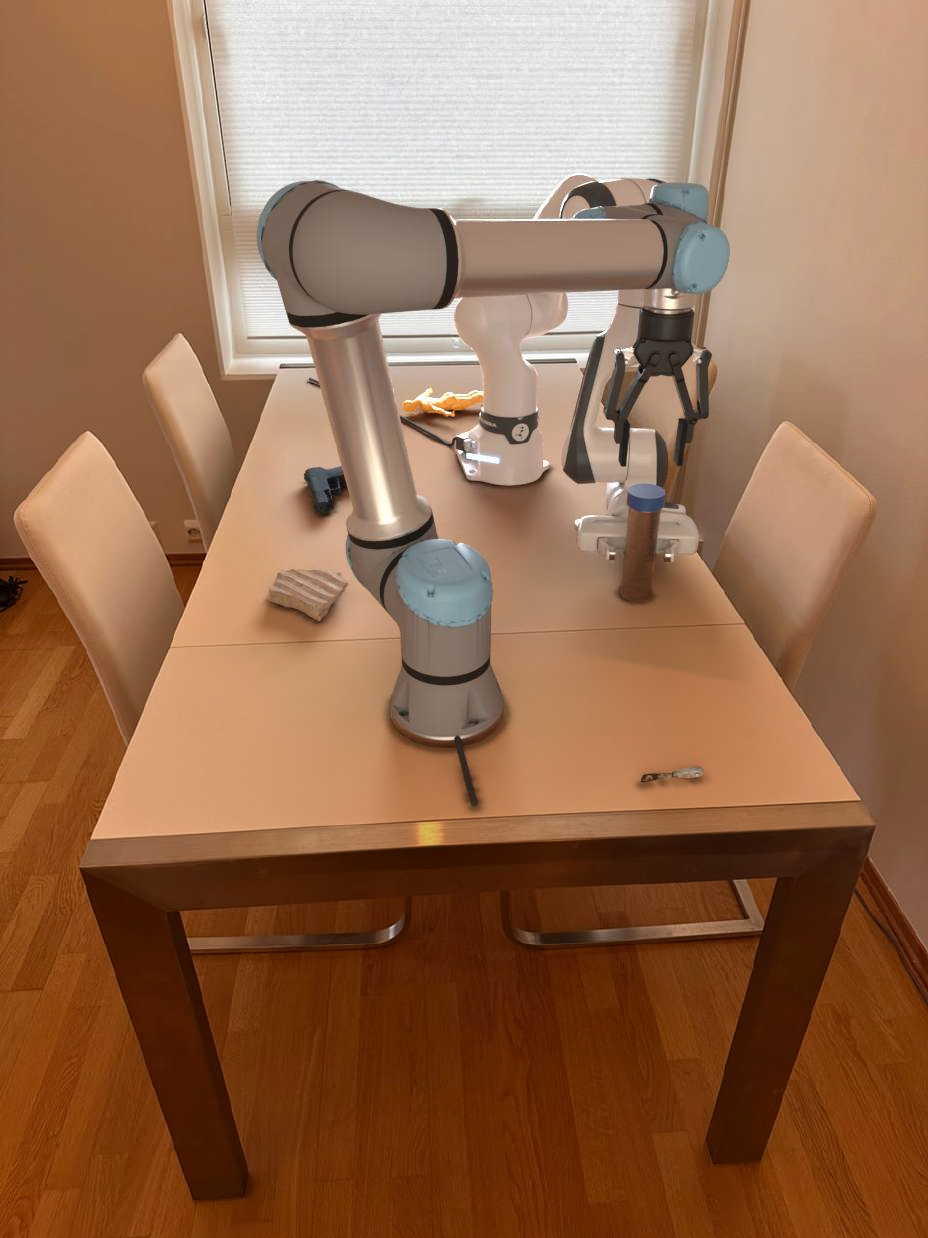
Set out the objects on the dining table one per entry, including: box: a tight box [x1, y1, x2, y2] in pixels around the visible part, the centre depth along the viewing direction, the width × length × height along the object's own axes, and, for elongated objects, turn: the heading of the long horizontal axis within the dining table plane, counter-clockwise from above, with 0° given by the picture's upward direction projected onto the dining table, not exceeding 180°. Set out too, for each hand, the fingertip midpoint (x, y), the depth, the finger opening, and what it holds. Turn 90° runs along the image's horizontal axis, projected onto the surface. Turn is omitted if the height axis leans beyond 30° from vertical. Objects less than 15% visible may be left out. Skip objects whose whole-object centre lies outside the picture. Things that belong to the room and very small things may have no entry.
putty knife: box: [640, 765, 705, 784], centre depth 109 cm, size 1×8×2 cm, turn 103°
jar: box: [619, 507, 661, 603], centre depth 143 cm, size 5×5×18 cm
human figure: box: [402, 385, 483, 418], centre depth 225 cm, size 20×20×4 cm
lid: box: [627, 484, 667, 512], centre depth 138 cm, size 6×6×2 cm
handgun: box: [303, 465, 348, 515], centre depth 181 cm, size 3×18×12 cm
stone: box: [267, 568, 349, 622], centre depth 146 cm, size 13×12×2 cm
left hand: (650, 462), depth 135 cm, fingers open, 8 cm apart
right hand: (640, 557), depth 145 cm, fingers open, 8 cm apart
